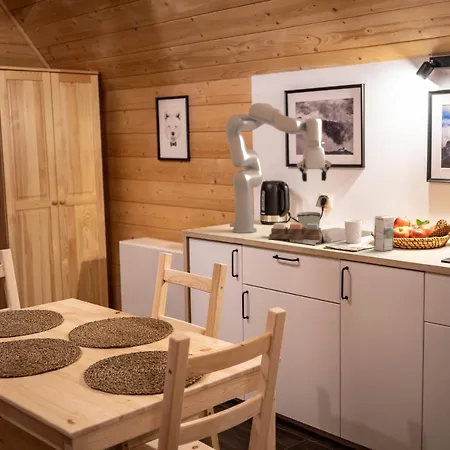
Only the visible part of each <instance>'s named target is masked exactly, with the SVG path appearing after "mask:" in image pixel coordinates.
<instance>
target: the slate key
mask: <svg viewBox="0 0 450 450" xmlns="http://www.w3.org/2000/svg"><path fill="white" fill-rule="evenodd" d="M319 228H320V223H319V224H311V223H308V224H307V229H319Z"/></svg>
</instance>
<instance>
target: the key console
mask: <svg viewBox="0 0 450 450" xmlns="http://www.w3.org/2000/svg"><path fill="white" fill-rule="evenodd" d="M268 237H269V239H270V240H274V239H275V240H304V239H306V240H307V241H308V240H309V241H310V240H311V241H312V240H315V241H319V240H321V239H322V238H323V232H322V229H321V227H319V229H307V228H305V229H304V227H302V229H290V227H287V226H286V228H285V229H274V226H273V227H272V228H271V232H270V234H269V236H268Z"/></svg>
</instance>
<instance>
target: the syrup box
mask: <svg viewBox="0 0 450 450" xmlns="http://www.w3.org/2000/svg"><path fill="white" fill-rule="evenodd" d="M394 224H395V218H394V216H391V215H378V216H374V237H373V238H374V239H373V243H374V244H373V250H374V251H378V252H379V251H380V252H387V251H389V252H390V251H393V250H394V230H395V229H394Z"/></svg>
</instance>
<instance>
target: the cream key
mask: <svg viewBox="0 0 450 450" xmlns="http://www.w3.org/2000/svg"><path fill="white" fill-rule="evenodd" d="M273 227H274V229H285V228H286V227H287V223H286V222H275V223H273Z"/></svg>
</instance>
